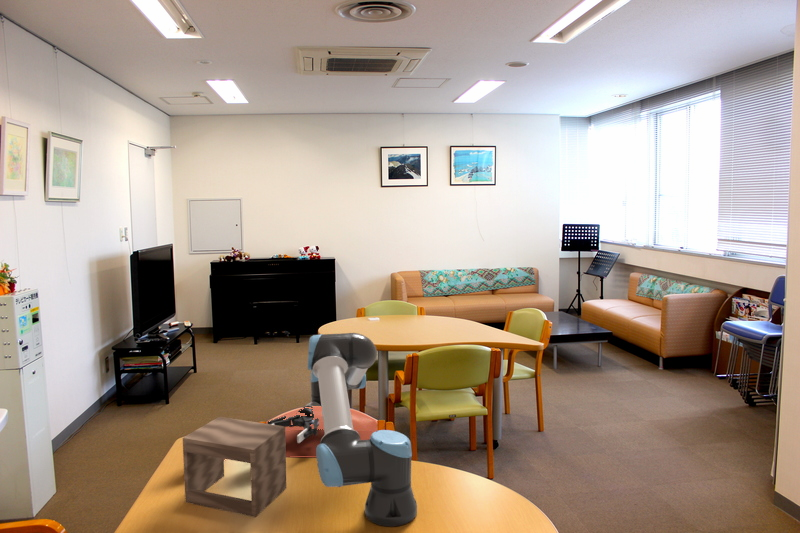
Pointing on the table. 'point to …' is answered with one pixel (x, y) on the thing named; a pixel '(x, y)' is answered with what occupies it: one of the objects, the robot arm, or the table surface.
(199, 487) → the walnut cubby
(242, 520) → the table surface
